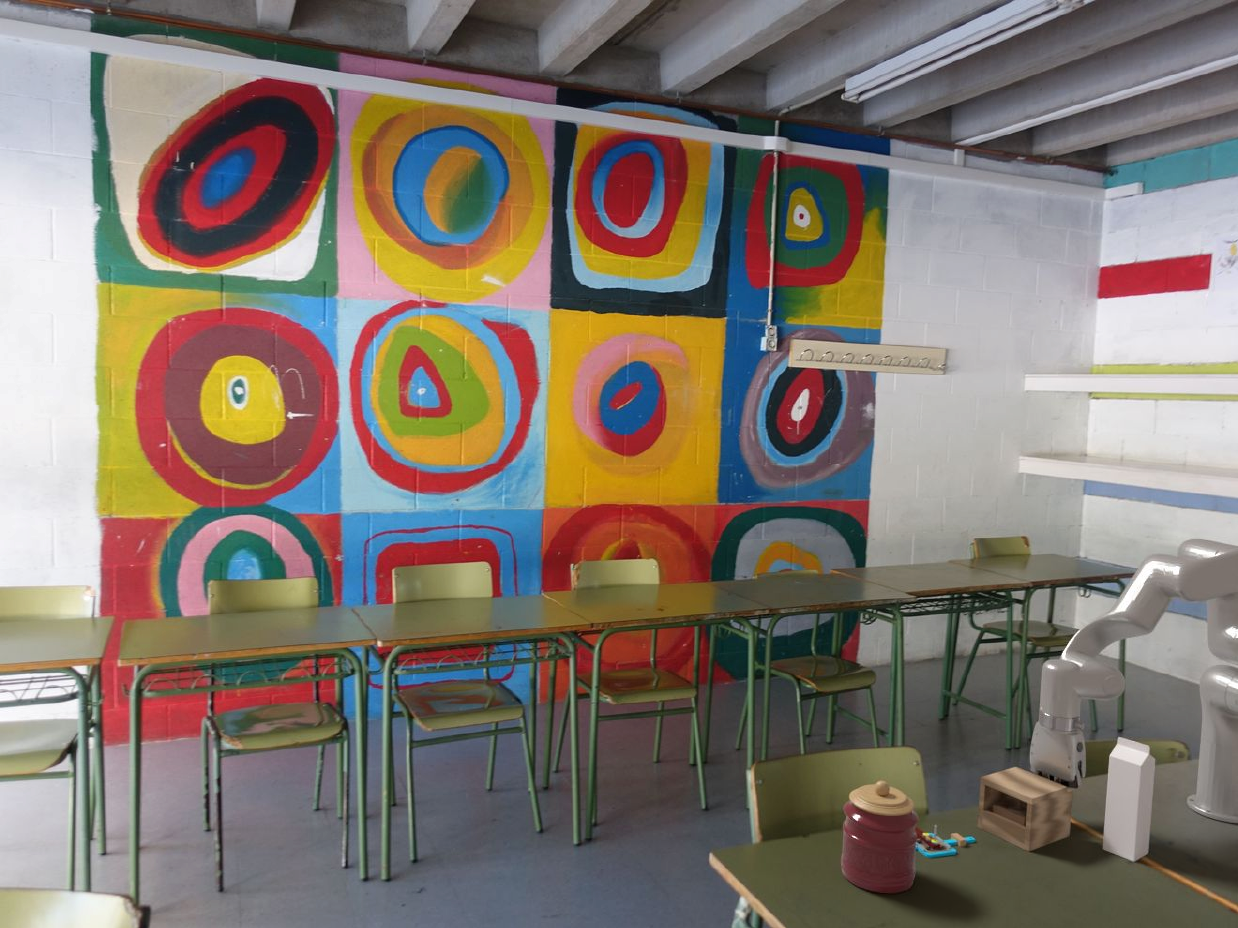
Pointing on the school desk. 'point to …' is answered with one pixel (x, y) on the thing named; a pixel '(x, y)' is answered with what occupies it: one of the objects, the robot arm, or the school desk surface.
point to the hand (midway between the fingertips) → (1053, 807)
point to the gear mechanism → (939, 843)
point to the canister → (879, 839)
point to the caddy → (1013, 812)
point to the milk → (1129, 800)
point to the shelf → (1044, 808)
